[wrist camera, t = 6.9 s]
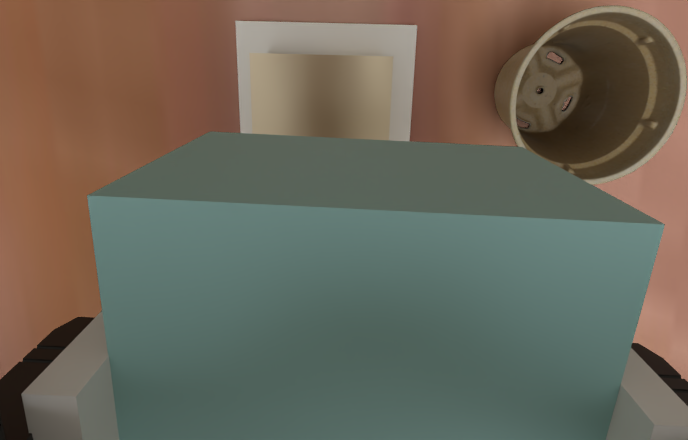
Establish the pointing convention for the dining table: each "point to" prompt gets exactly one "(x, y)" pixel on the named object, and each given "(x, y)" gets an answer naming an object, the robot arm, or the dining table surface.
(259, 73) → the beech block
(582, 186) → the teal block
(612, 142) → the flower pot
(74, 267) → the dining table surface
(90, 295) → the dining table surface
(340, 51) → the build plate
